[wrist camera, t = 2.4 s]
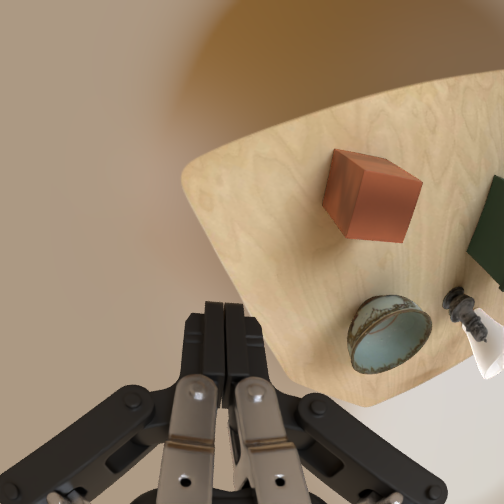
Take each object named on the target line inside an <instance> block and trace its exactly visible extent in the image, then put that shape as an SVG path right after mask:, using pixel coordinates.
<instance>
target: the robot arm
mask: <svg viewBox="0 0 504 504" xmlns="http://www.w3.org/2000/svg"><path fill="white" fill-rule="evenodd" d="M221 397H222V408H225V409H226V408H227V409H228V413H229V420H228V434H229V441H230V448H231V455H232V462H233V470H234V473H233V479H234V488H235V491H233V492H228V491H224V490H219V489H215V488H213V469H214V452H215V445H214V442H215V425H216V415H217V409H218V408H220V404H221ZM160 443H165V444H164V449H163V456H162V462H161V469H160V476H159V483H158V488H157V489H153V490H150V491H148V492H146V493H144V494H142V495H140V496H139V497H137V498H136V499H135V500H134V501H132V502H131V503H130V504H327V503H326V502H325V501H323V500H322V499H321V498H319V497H317V496H316V495H314V494H312V493H310V492H308V488H307V485H306V481H305V478H304V473H303V470H302V466H301V464H302V465H303V466H304V467H305V468H306V469H308V470H309V471H310V472H311V473H312V474H314V475H315V476H316V477H317V478H319V479H320V480H321V481H322V482H324V483H325V484H326V485H328V486H329V487H330V488H331V489H333V490H334V491H335V492H337V493H338V494H339V495H341V496H342V497H343V498H345V499H346V500H347V501H349V502H350V503H351V504H444V503H445V501H446V499H447V495H448V490H447V486H446V484H445V483H444V481H442V480H441V479H440V478H438V477H437V476H435V475H434V474H432V473H431V472H429V471H428V470H426V469H425V468H423V467H422V466H420V465H419V464H418V463H416V462H415V461H413V460H412V459H411V458H409V457H408V456H406V455H405V454H403V453H402V452H401V451H399V450H398V449H396V448H395V447H393V446H392V445H391V444H390V443H388V442H387V441H385V440H384V439H383V438H381V437H380V436H379V435H377V434H376V433H375V432H373V431H372V430H370V429H369V428H368V427H366V426H365V425H364V424H363V423H361V422H360V421H359V420H357V419H356V418H355V417H353V416H352V415H351V414H349V413H348V412H347V411H346V410H344V409H343V408H342V407H341V406H339V405H338V404H337V403H335V402H334V401H333V400H332V399H331V398H329V397H328V396H326V395H324V394H321V393H310V394H307V395H305V396H304V397H303V398H299V397H295V396H291V395H287V394H284V393H282V392H280V391H279V390H277V389H276V388H275V387H274V386H273V385H272V383H271V382H270V379H269V375H268V368H267V361H266V354H265V348H264V341H263V334H262V327H261V325H260V324H259V322H258V321H257V319H256V318H255V317H244V308H243V304H239V303H225V304H224V311H223V303H222V302H210V301H206V302H205V313H204V314H200V313H191V315H190V316H189V317H188V319H187V320H186V322H185V330H184V340H183V350H182V361H181V372H180V376H179V379H178V380H177V381H176V383H175V384H173V385H172V386H171V387H169V388H167V389H163V390H158V391H153V392H149V391H148V390H147V389H146V388H144V387H142V386H139V385H127V386H124V387H122V388H120V389H119V390H117V391H116V392H114V393H113V394H112V395H111V396H110V397H108V398H107V399H105V400H104V401H103V402H101V403H100V404H98V405H97V406H96V407H94V408H93V409H92V410H90V411H89V412H88V413H87V414H85V415H84V416H82V417H81V418H80V419H78V420H77V421H76V422H74V423H73V424H71V425H70V426H69V427H67V428H66V429H65V430H63V431H62V432H60V433H59V434H58V435H56V436H55V437H54V438H52V439H51V440H50V441H48V442H47V443H45V444H44V445H42V446H41V447H40V448H38V449H37V450H35V451H34V452H32V453H31V454H30V455H28V456H27V457H25V458H24V459H22V460H21V461H20V462H18V463H17V464H16V465H14V466H12V467H11V468H10V469H8V470H7V471H5V472H4V473H2V474H1V475H0V503H1V504H91V503H90V502H91V501H92V500H93V499H95V498H96V497H97V496H98V495H100V494H101V493H102V492H103V491H104V490H105V489H107V488H108V487H109V486H111V485H112V484H113V483H114V482H116V481H117V480H118V479H119V478H120V477H122V476H123V475H124V474H125V473H126V472H127V471H129V470H130V469H131V468H132V467H133V466H134V465H136V464H137V463H138V462H139V461H140V460H141V459H142V458H144V457H145V456H146V455H147V454H148V453H149V452H150V451H152V450H153V449H154V448H155V447H156V446H157V445H158V444H160Z"/></svg>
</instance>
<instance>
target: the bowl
mask: <svg viewBox="0 0 504 504" xmlns="http://www.w3.org/2000/svg"><path fill="white" fill-rule="evenodd" d="M431 330H432V321H431V318H430V316H429V315H428V314H427V313H426V312H423V311H422V310H421V308H420V307H419V306H418V305H417V304H415V303H414V302H413V301H411V300H410V299H408V298H405V297H402V296H398V295H386V296H375V297H372V298H370V299H368V300H367V301H365V302H364V303H363V304H362V305H361V307H360V308H359V310H358V312H357V314H356V315H355V316H354V318H353V320H352V322H351V324H350V327H349V331H348V336H347V345H348V351H349V354H350V357H351V363H352V366H353V368H354V369H355V370H356V371H357V372H359V373H362V374H377V373H381V372H385V371H388V370H391V369H393V368H395V367H397V366H399V365H401V364H403V363H404V362H406V361H407V360H409V359H410V358H411V357H412V356H414V355H415V354H416V353H417V352H418V351H419V350H420V349H421V348H422V347H423V345H424V344H425V343H426V341H427V340H428V338H429V335H430V333H431Z"/></svg>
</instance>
